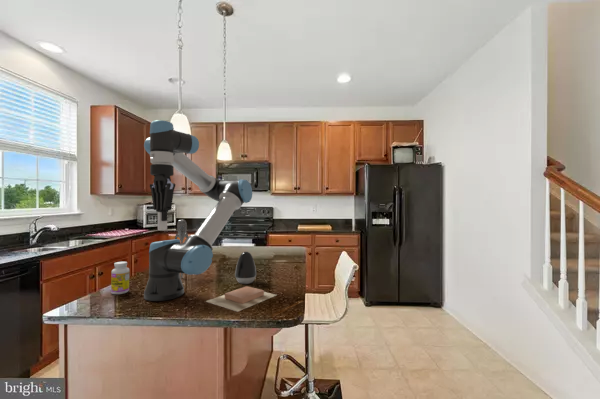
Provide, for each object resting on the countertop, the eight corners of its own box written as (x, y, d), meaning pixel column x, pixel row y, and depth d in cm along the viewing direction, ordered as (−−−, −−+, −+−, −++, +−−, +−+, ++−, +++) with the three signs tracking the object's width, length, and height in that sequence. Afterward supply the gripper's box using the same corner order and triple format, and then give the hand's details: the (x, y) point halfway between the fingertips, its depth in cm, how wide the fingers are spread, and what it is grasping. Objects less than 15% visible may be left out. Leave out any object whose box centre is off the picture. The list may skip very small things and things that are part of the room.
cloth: (237, 313, 98) (237, 311, 98) (205, 303, 109) (205, 301, 109) (277, 296, 117) (277, 294, 117) (246, 289, 127) (246, 287, 127)
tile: (242, 298, 106) (263, 290, 116) (224, 293, 112) (246, 286, 121) (242, 304, 106) (263, 295, 116) (224, 298, 112) (246, 291, 121)
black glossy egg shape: (255, 279, 143) (255, 249, 143) (256, 285, 133) (257, 253, 133) (235, 280, 141) (235, 250, 141) (234, 286, 131) (235, 253, 131)
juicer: (192, 273, 154) (193, 219, 155) (182, 278, 143) (182, 220, 144) (175, 272, 155) (176, 218, 156) (164, 278, 144) (164, 220, 145)
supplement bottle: (107, 294, 118) (107, 264, 118) (118, 289, 125) (118, 260, 125) (122, 295, 118) (122, 264, 118) (132, 290, 125) (132, 261, 125)
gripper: (142, 164, 102) (142, 229, 102) (161, 162, 94) (162, 232, 94) (162, 166, 108) (162, 228, 108) (182, 164, 100) (182, 230, 101)
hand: (162, 229), depth 101 cm, fingers closed
